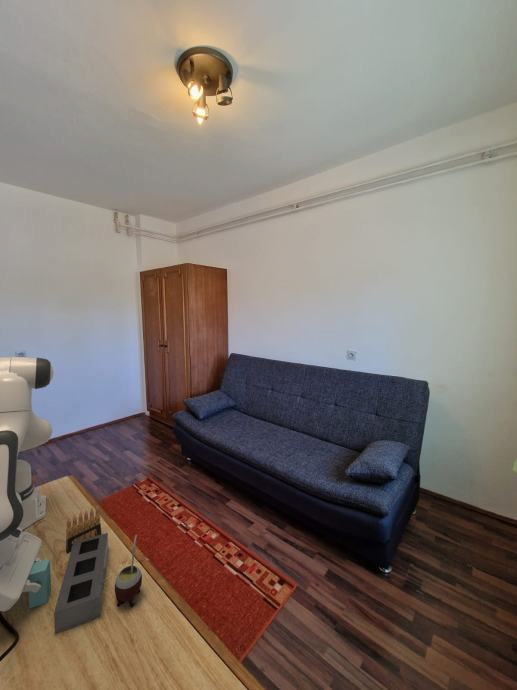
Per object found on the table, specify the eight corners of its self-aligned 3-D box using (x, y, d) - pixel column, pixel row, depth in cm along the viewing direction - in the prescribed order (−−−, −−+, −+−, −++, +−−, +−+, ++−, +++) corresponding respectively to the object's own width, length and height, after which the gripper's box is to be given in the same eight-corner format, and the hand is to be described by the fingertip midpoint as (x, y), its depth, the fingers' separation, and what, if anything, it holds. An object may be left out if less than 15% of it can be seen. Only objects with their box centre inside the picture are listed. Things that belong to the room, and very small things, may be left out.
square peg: (34, 595, 79) (32, 563, 78) (51, 590, 81) (49, 558, 80) (29, 608, 75) (27, 575, 74) (47, 602, 77) (45, 570, 76)
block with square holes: (74, 558, 91) (73, 541, 91) (108, 548, 95) (107, 532, 95) (54, 633, 69) (54, 612, 69) (100, 617, 74) (99, 597, 73)
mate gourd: (119, 617, 74) (118, 566, 72) (110, 595, 79) (109, 547, 78) (147, 598, 79) (147, 550, 78) (137, 579, 85) (136, 534, 83)
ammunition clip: (67, 553, 93) (65, 520, 92) (65, 550, 94) (64, 517, 93) (101, 536, 101) (100, 505, 100) (100, 533, 102) (99, 503, 101)
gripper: (-14, 582, 64) (40, 603, 69) (20, 522, 83) (60, 542, 88) (-38, 607, 63) (18, 627, 68) (1, 541, 81) (43, 560, 86)
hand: (42, 579), depth 78 cm, fingers closed on square peg, 4 cm apart
